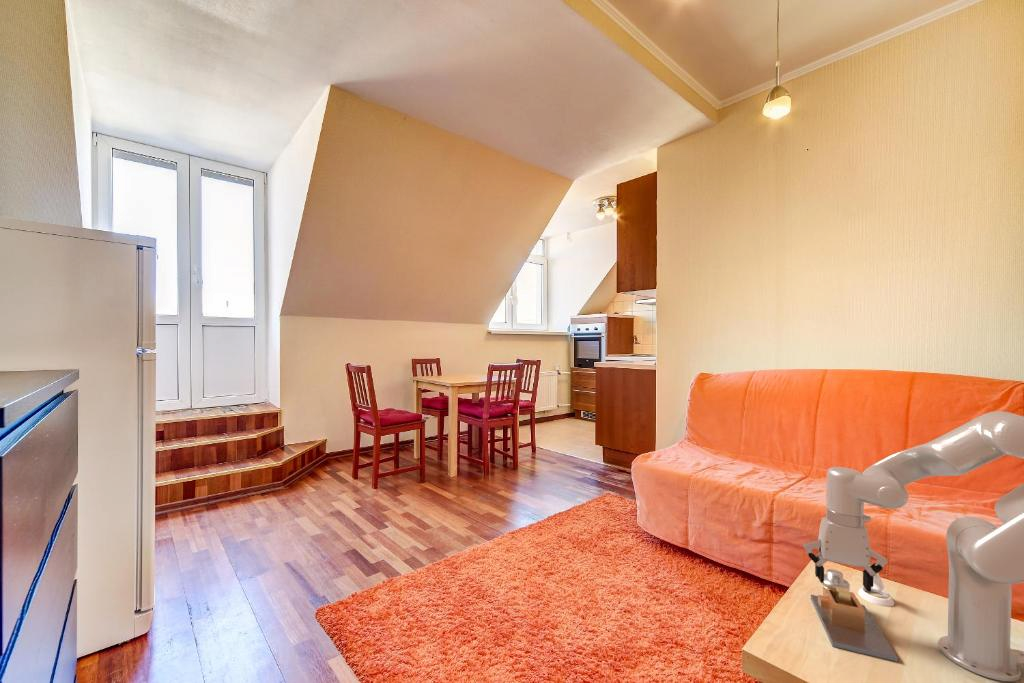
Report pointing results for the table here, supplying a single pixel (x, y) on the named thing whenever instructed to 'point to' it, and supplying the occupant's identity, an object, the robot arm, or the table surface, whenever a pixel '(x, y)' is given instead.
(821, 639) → the table surface
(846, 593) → the pale yellow block
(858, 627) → the tray with wooden box
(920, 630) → the table surface
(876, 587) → the hook
